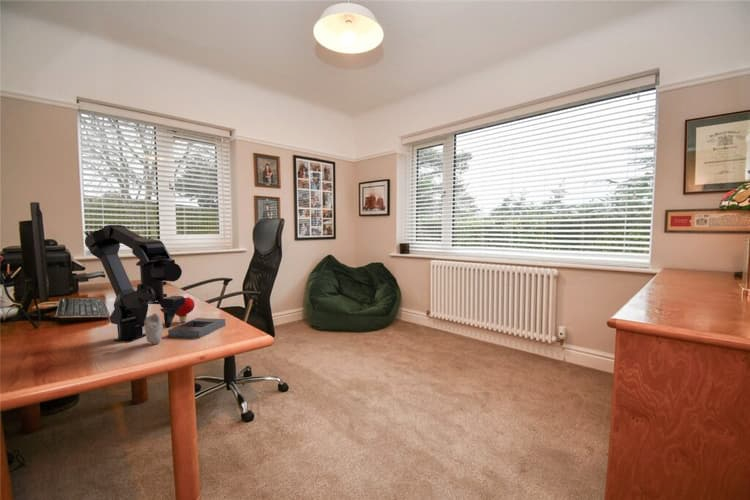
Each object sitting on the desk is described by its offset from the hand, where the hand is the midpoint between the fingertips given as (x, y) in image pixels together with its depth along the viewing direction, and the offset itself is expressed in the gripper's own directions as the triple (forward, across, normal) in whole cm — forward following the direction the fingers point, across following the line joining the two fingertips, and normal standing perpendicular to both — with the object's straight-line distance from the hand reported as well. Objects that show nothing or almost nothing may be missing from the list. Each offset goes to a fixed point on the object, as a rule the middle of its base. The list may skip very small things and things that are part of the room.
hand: (155, 327), depth 102 cm
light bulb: (+6, -8, +22) cm, 24 cm away
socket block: (+5, +5, +13) cm, 15 cm away
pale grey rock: (+6, 0, 0) cm, 6 cm away
